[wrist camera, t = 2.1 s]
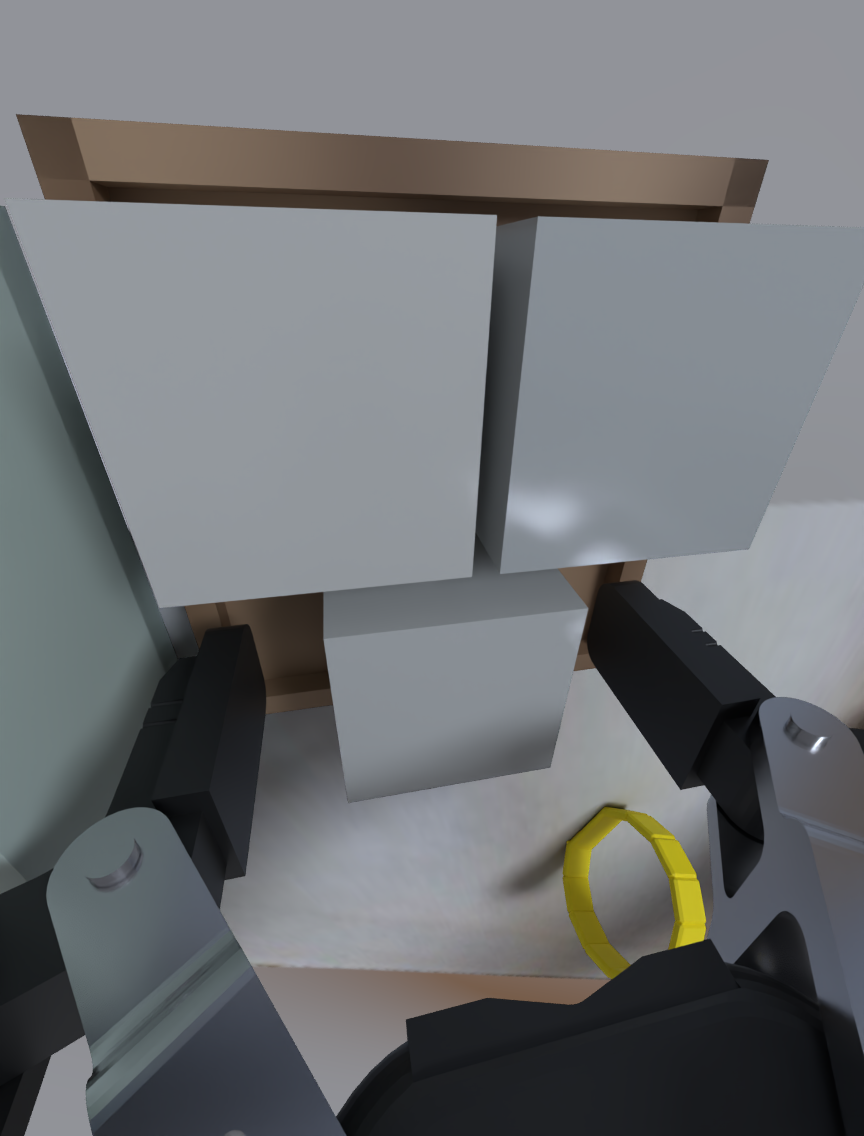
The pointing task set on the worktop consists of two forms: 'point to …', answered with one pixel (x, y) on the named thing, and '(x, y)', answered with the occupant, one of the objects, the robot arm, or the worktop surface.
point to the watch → (674, 863)
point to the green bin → (61, 600)
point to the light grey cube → (276, 385)
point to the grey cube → (450, 676)
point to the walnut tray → (373, 183)
